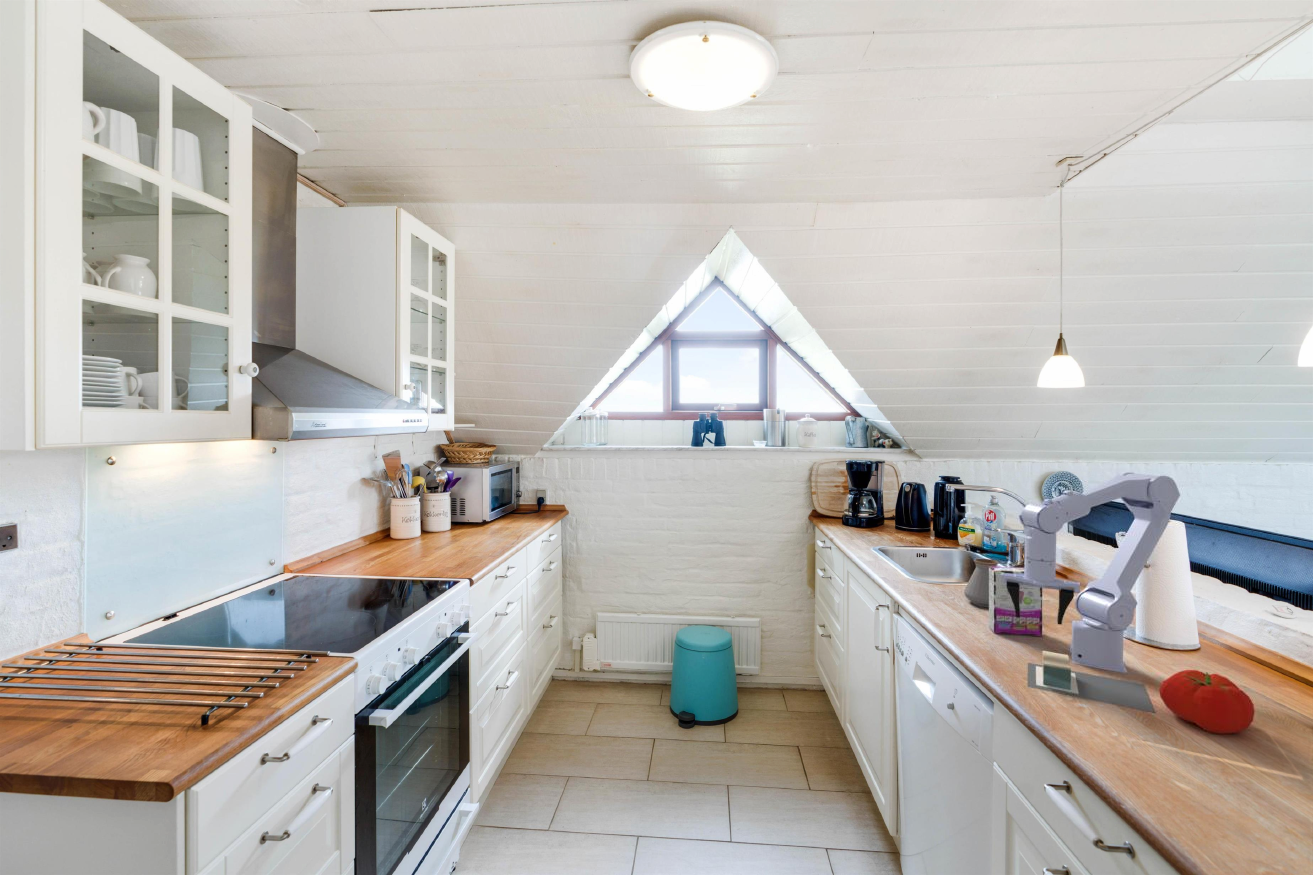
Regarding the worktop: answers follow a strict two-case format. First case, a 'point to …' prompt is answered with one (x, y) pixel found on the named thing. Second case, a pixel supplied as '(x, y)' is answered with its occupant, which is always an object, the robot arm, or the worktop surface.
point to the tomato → (1208, 701)
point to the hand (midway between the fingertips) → (1038, 619)
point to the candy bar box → (1004, 610)
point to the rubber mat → (1096, 689)
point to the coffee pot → (981, 582)
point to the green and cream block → (1056, 670)
